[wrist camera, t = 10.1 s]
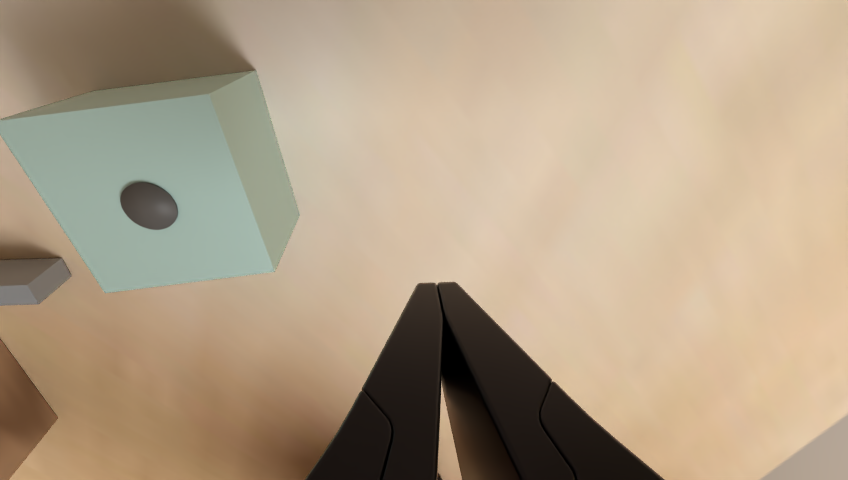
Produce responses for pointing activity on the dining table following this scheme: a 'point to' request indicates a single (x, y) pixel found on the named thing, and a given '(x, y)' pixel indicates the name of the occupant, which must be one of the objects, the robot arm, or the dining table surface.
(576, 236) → the dining table surface
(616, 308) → the dining table surface
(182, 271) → the block
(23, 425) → the block
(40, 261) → the grey u-shaped bracket
